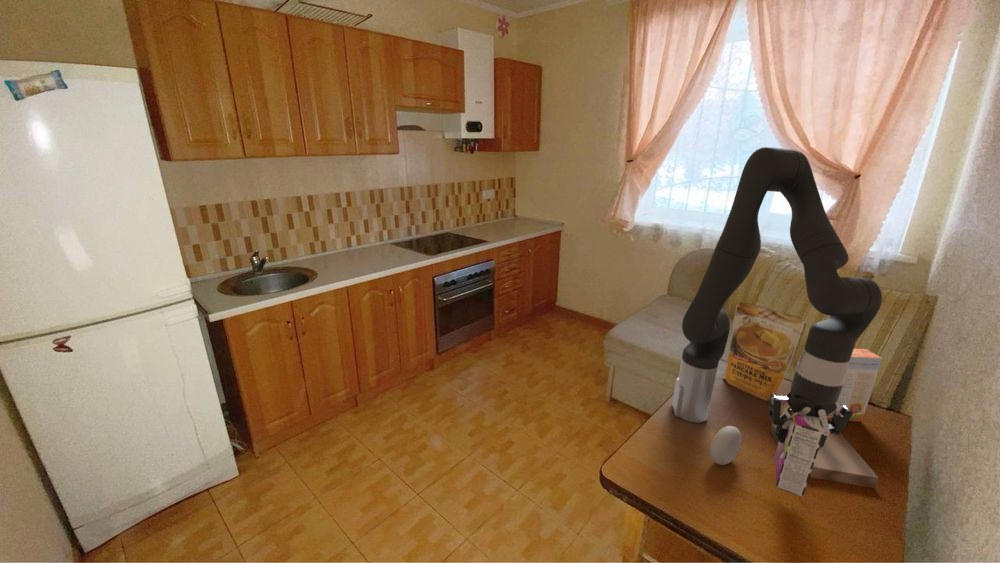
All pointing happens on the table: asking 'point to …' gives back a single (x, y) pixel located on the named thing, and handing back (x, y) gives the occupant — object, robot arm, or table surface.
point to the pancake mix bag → (761, 349)
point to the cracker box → (859, 383)
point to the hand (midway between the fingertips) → (797, 443)
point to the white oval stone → (725, 445)
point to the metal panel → (840, 462)
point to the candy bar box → (798, 453)
